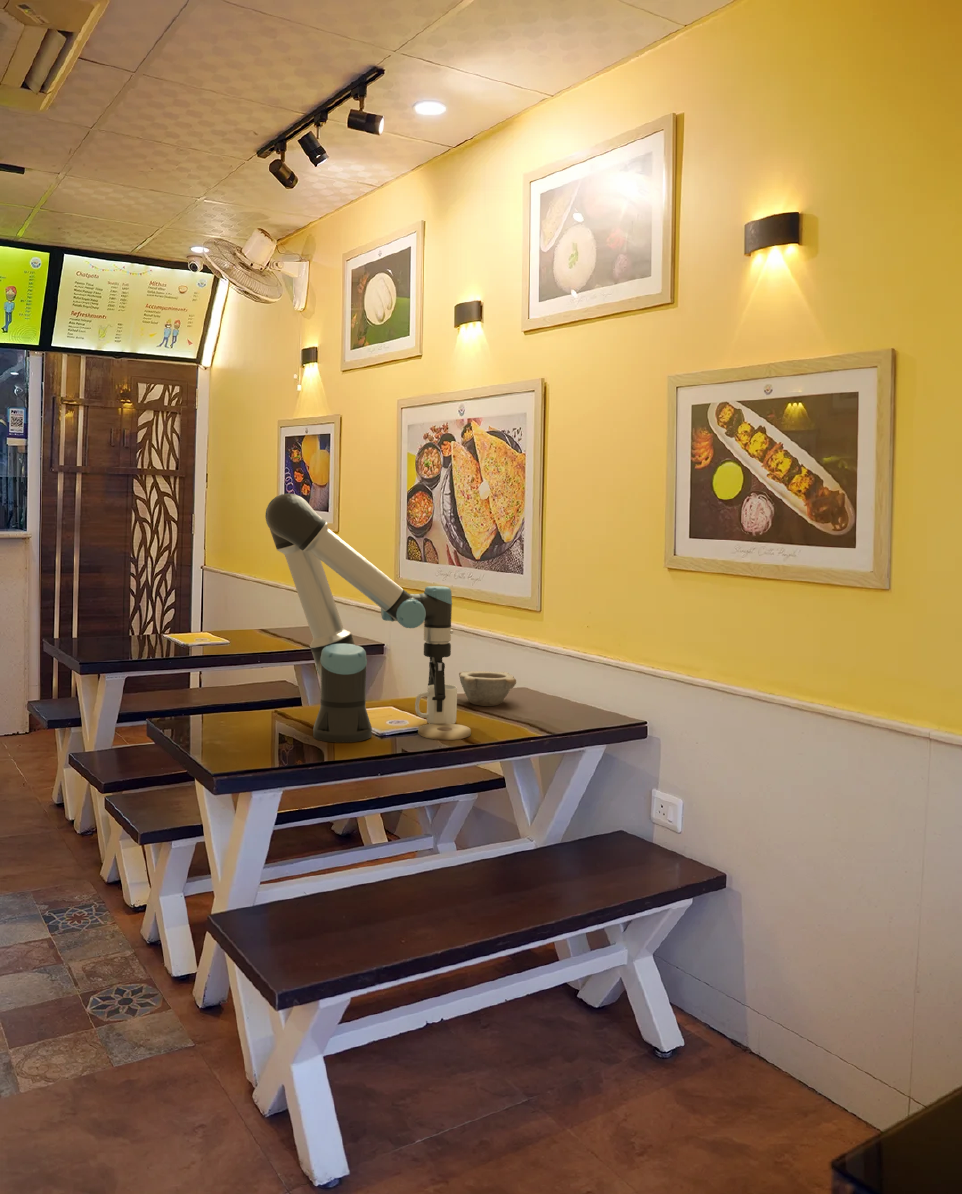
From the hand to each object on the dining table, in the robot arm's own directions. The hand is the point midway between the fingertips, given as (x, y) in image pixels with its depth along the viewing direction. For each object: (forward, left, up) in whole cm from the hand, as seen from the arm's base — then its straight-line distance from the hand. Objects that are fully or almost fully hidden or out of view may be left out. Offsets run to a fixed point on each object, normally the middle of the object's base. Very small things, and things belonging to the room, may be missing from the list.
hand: (435, 718), depth 279 cm
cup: (0, 0, -2) cm, 2 cm away
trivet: (+1, -13, -1) cm, 13 cm away
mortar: (+19, +27, -2) cm, 33 cm away
